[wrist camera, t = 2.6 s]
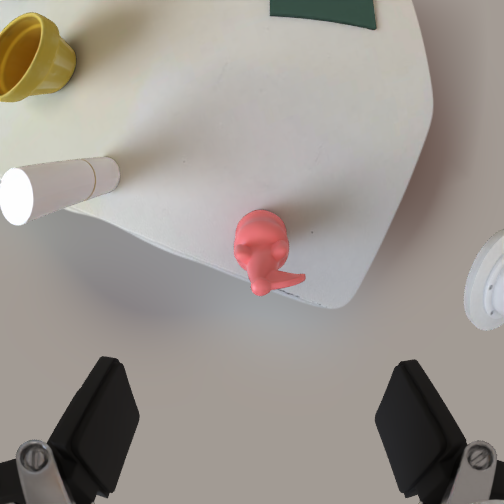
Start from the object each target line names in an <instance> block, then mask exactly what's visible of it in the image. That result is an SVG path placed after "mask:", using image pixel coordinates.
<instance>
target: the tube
mask: <svg viewBox="0 0 504 504" xmlns="http://www.w3.org/2000/svg"><path fill="white" fill-rule="evenodd" d="M119 180H120V170H119V166H118V165H117V163H116V162H115V161H114V160H113V159H112V158H109V157H95V158H84V159H74V160H66V161H57V162H49V163H42V164H35V165H28V166H22V167H16V168H12V169H9V170H8V171H7V172H6V173H5V174H4V176H3V178H2V180H1V183H0V206H1V210H2V212H3V214H4V216H5V218H6V219H7V220H8V221H9V222H10V223H11V224H13V225H22V224H25V223H27V222H29V221H32V220H34V219H37V218H39V217H42V216H44V215H47V214H50V213H52V212H55V211H58V210H60V209H63V208H66V207H68V206H71V205H74V204H77V203H80V202H82V201H85V200H88V199H91V198H94V197H97V196H100V195H103V194H106V193H109V192H111V191H113V190H114V189H115V188H116V187H117V185H118V183H119Z"/></svg>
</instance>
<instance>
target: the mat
mask: <svg viewBox="0 0 504 504" xmlns="http://www.w3.org/2000/svg"><path fill="white" fill-rule="evenodd" d="M270 16H281V17H295V18H305V19H314V20H322V21H329V22H336V23H342V24H348V25H353V26H358V27H363V28H367V29H372V30H375V29H376V21H375V13H374V6H373V0H270Z"/></svg>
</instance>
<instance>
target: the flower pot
mask: <svg viewBox="0 0 504 504" xmlns="http://www.w3.org/2000/svg"><path fill="white" fill-rule="evenodd" d="M75 66H76V55H75V52H74V50H73V49H72V48H71V47H70V46H69V45H68V44H67V43H66V42H65V41H64V40H63V39H62V38H61V36H60V35H59V30H58V28H57V26H56V25H55V23H53V22H52V21H51V20H49V19H47V18H46V17H44V16H42V15H40V14H38V13H26V14H23V15H21V16H19V17H17V18H16V19H14V20H13V21H12V22H10V23H9V24H8V25H7V26H6V27H5V28H4V29H3V30H2V32H1V33H0V101H1V102H17V101H20V100H23V99H24V98H26V97H28V96H31V95H39V94H49V93H54V92H56V91H58V90H60V89H61V88H62V87H63V86H64V85H65V84H66V83H67V82H68V81H69V79H70V78H71V76H72V74H73V72H74V69H75Z"/></svg>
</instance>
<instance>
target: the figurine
mask: <svg viewBox="0 0 504 504" xmlns="http://www.w3.org/2000/svg"><path fill="white" fill-rule="evenodd" d="M235 236H236V237H235V241H234V256H235V258H236V259H237V261H238V263H239V265H240V266H241V267H242V268H243V269H244V270H246V271H247V273H248V276H249V279H250V282H251V290H252V292H253V293H254V294H255V295H257V296H263V295H266V294H267V293H269V292H270V291H271V290H274V289H280V288H286V287H290V286H293V285H296V284H299V283H301V282H303V281H305V274H292V273H287V272H282V271H278V269H280V268H281V267H282V266H283V265H284V263H285V262H286V260H287V257H288V253H289V241H288V238H287V233H286V227H285V225H284V223H283V221H282V220H281V219H280V218H279V217H278V216H277V215H276V214H274V213H272V212H269V211H266V210H255V211H252V212H251V213H248V214H247V215H245V216H244V217H243V218H242V219H241V220H240V221H239V223H238V225H237V228H236V234H235Z"/></svg>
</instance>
